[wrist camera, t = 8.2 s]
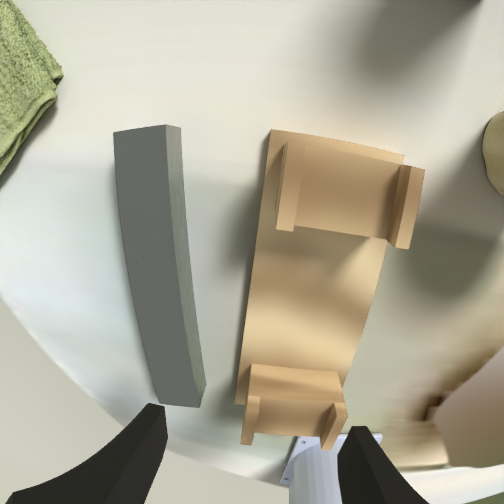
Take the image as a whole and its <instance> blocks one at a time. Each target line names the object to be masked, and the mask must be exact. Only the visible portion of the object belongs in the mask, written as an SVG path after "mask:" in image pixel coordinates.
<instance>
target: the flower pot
mask: <svg viewBox="0 0 504 504" xmlns="http://www.w3.org/2000/svg"><path fill="white" fill-rule="evenodd" d="M482 152H483V155H484V158H485V163H486V170H487V176H488V178H489V180H490V182H491V184H492V185H493V187H494V188H495V190H496V191H497V192H498V193H499V194H501V195H502V196H504V111H503V112H501V113H499V114H497V115H495V116H494V117H493V118H492V119H491V121H490V122H489V124H488V126H487V128H486V131H485V134H484V139H483V147H482Z"/></svg>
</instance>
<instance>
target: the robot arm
mask: <svg viewBox="0 0 504 504" xmlns="http://www.w3.org/2000/svg"><path fill="white" fill-rule="evenodd" d="M382 438H383V437H382V434H381V433H374V434H371V432H370V431H369V429H368V428H367V426H352V427H351V429H350V431H349V433H348V434H339V436H338V438H337V440H336V442H335V444H334V445H333V447H332V449H331V450H321V446H320V437H306V436H298V438H297V440H296V443H295V446H294V448H293V451H292V453H291V456H290V458H289V460H288V463H287V465H286V468H285V470H284V472H283V475H282V477H281V479H280V484H281V485H289V504H429V503H428V502H427V501H426V500H425V499H423V498H422V497H421V496H420V495H419V494H418V493H417V492H416V491H415V490H414V489H413V488H412V487H411V486H410V485H409V483H408V482H407V481H406V480H405V479H404V478H403V476H402V475H401V474H400V473H399V472H398V470H397V469H396V468H395V466H394V465H393V464H392V462H391V461H390V460H389V458H388V457H387V456H386V454H385V453H384V451H383V450H382V448H381V447H380V446H379V443H380V442H381V440H382ZM167 439H168V434H167V426H166V417H165V407H164V406H160V405H156V404H152V403H148V404H147V405H146V406H145V407H144V408H143V409H142V411H141V412H140V413H139V414H138V415H137V416H136V417H135V418H134V419H133V420H132V421H131V422H130V423H129V424H128V426H127V427H125V428H124V429H123V430H122V431H121V432H120V433H119V434H118V435H117V436H116V437H115V438H114V439H113V440H112V441H111V442H109V443H108V444H107V445H106V446H104V447H103V448H102V449H101V450H100V451H98V452H97V453H96V454H94V455H93V456H92V457H90V458H89V459H87V460H86V461H85V462H83V463H81V464H80V465H78V466H76V467H75V468H73V469H71V470H69V471H68V472H66V473H64V474H62V475H60V476H58V477H56V478H53V479H51V480H49V481H46V482H44V483H42V484H39V485H36V486H33V487H30V488H27V489H23V490H20V491H16V492H13V493H12V495H11V496H10V497H9V499H8V500H7V502H6V504H144V502H145V500H146V497H147V495H148V492H149V490H150V488H151V485H152V483H153V480H154V478H155V475H156V473H157V471H158V468H159V466H160V463H161V461H162V458H163V454H164V451H165V447H166V443H167Z"/></svg>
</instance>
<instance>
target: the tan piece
mask: <svg viewBox="0 0 504 504" xmlns="http://www.w3.org/2000/svg"><path fill="white" fill-rule="evenodd" d="M403 160H404V155H401V154H397V153H393V152H389V151H385V150H381V149H377V148H373V147H368V146H364V145H359V144H355V143H350V142H345V141H340V140H335V139H329V138H324V137H318V136H313V135H307V134H300V133H294V132H287V131H280V130H273V129H271V132H270V139H269V147H268V155H267V162H266V170H265V178H264V185H263V193H262V200H261V208H260V216H259V223H258V231H257V238H256V246H255V253H254V261H253V268H252V276H251V283H250V291H249V298H248V306H247V313H246V321H245V328H244V336H243V343H242V350H241V358H240V365H239V373H238V380H237V387H236V395H235V402H234V404H238V405H245V411H244V419H243V427H242V436H241V444H243V445H252V440H253V436H254V432H255V433H265V434H276V435H289V436H306V437H320V446H321V450H331V449H332V447H333V445H334V444H335V442H336V440H337V438H338V436H339V434H340V432H341V430H342V428H343V426H344V424H345V422H346V420H347V418H348V414H347V410H346V405H345V401H344V397H343V393H342V386H343V384H344V381H345V379H346V376H347V374H348V371H349V368H350V366H351V363H352V360H353V357H354V354H355V352H356V349H357V346H358V343H359V340H360V337H361V334H362V331H363V328H364V325H365V322H366V319H367V316H368V312H369V309H370V306H371V303H372V299H373V296H374V292H375V289H376V285H377V282H378V278H379V274H380V271H381V267H382V263H383V259H384V255H385V251H386V247H387V243H388V242H389V243H391V244H392V245H393V246H394V247H396V248H402V249H409V245H410V241H411V237H412V233H413V229H414V224H415V220H416V215H417V211H418V206H419V201H420V196H421V190H422V185H423V179H424V173H425V170H424V169H420V168H416V167H413V166H407V165H403Z"/></svg>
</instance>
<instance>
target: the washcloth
mask: <svg viewBox="0 0 504 504" xmlns="http://www.w3.org/2000/svg"><path fill="white" fill-rule="evenodd" d="M63 76H64V75H63V72H62V71H61V66H59V64H58V63H57V62H56V60H55V59H54V58H53V56H52V54H50V53H49V52H48V50H47V49H46V46H45V44H43V42H42V41H41V40H40V39H39V38H38V36H36V33H35V31H34V29H33V28H32V27H31V26H30V24H29V22H28V21H27V20H25V18H24V15H23V14H22V13H20V10H19V8H18V7H17V6H15V4H14V3H13V2H12V0H0V175H1V173H2V172H3V171H4V169H5V168H6V166H7V165H8V163H9V162H10V161H11V159H12V158H13V156H14V155H15V154H16V152H17V149H18V148H19V147H20V145H21V144H22V142H23V141H24V140H25V138H26V137H27V136H28V134H29V133H30V131H31V130H32V128H33V127H34V125H35V124H36V123H37V121H38V120H39V118H40V117H41V115H42V114H43V113H44V112H45V110H46V109H47V108H48V107H49V106H50V105H51V104H52V103H53V102H54V101H55V100H56V97H57V95H56V93H55V89H56V88H57V86H56V84H57V83H58V81H59V80H60V79H61V78H63Z"/></svg>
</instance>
